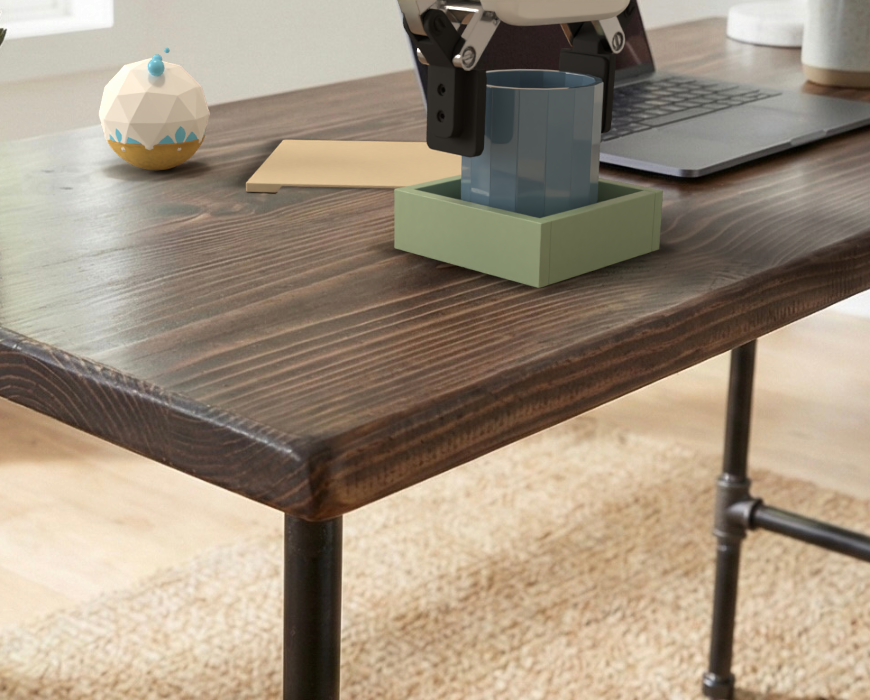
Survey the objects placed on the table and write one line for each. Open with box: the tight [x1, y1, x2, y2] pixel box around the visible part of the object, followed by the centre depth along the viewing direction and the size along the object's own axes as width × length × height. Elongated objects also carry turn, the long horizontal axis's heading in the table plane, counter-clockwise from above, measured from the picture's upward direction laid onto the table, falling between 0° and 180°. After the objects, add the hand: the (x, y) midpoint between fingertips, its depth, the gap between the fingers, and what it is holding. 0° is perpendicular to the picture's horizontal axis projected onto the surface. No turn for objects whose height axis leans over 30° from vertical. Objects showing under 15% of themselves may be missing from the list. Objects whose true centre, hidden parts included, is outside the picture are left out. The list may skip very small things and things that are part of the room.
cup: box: [461, 68, 603, 218], centre depth 65 cm, size 7×7×9 cm
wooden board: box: [245, 139, 461, 194], centre depth 86 cm, size 14×14×1 cm
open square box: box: [393, 175, 664, 289], centre depth 66 cm, size 10×10×4 cm
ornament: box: [98, 47, 211, 171], centre depth 84 cm, size 7×7×8 cm
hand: (521, 140), depth 64 cm, fingers open, 9 cm apart
